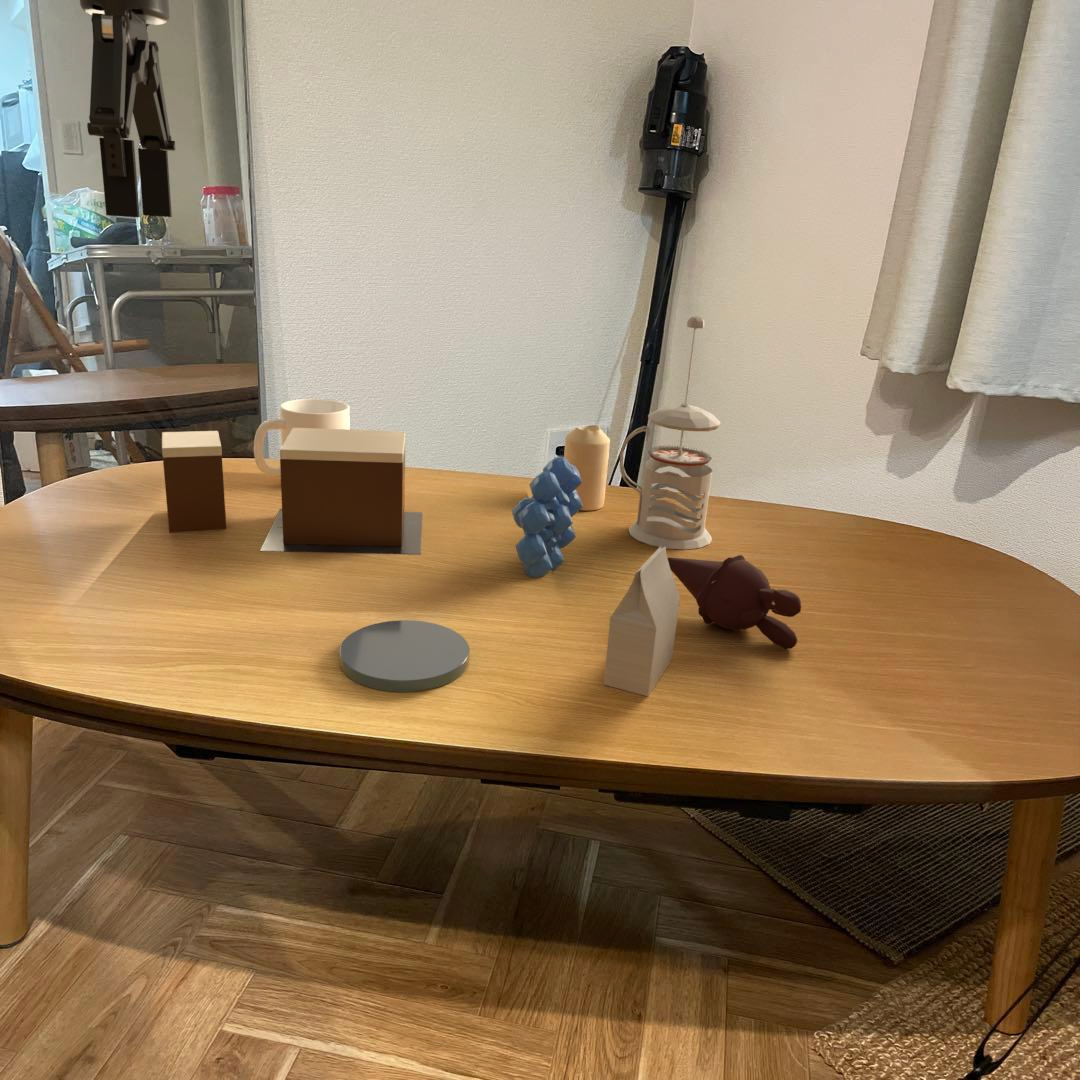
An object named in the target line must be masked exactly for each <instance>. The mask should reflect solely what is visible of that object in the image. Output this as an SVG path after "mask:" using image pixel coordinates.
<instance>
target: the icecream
mask: <svg viewBox="0 0 1080 1080" xmlns="http://www.w3.org/2000/svg"><path fill="white" fill-rule="evenodd" d="M667 558H668V562H669V566H670V569H671V572H672V574H674V575H675V576H676V578H677V579H678V580H679V581H680V582H681V584H682V585H683V586H684V587H685V588H686V589H687V591H688V592H689V593H690V594H691V596H692V597H693V598H694V599H695V602H696V604H697V606H698V615H699V616H700V617H701V618H702V621H703V622H704V624H706V625H711V624H715V625H717V626H719V627H722V628H723V629H729V630H737V631H738V630H740V631H742V630H747V629H750V628H753V627H756V628H758V630H759V631H760V632H761V633H762V635H764V636H765V637H766V638H767V639H768V640H769V641H771V642H772V643H773V644H774V645H776V646H778V647H781V648H783V649H785V650H790V649H791V650H792V649H793V648H794V647H796V645H797V644H798V637H797V634H796V633H795V631H793V629H792V628H791V627H790V626H789V625H788V624H787V623H785V622H783V621H781V620H779V619H778V618H775V617H773V616H770V615H767V614H768V613H769V612H770V611H771V612H772V613H773V614H775V615H778V616H781V617H787V618H793V617H795V616H797V615H798V614H799V613H801V610H802V602H801V597H799V595H798V594H796V593H795V592H792V591H790V590H787V589H774V588H771V584H770V582H769V579H768V578H767V576H766V575H765V574H764V573H765V572H763V571H762V570H761V569H760V568H759V567H757V566H755V565H753V564H752V563H751V562H750V561H748V560H746V559H745V557H744V556H743V554H742V555H741V554H739V555H736V556H733V557H727V558H725V559H723V561H719V560H718V561H717V560H706V559H696V558H695V559H694V558H682V557H672V556H671V557H668V556H667Z"/></svg>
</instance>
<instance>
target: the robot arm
mask: <svg viewBox="0 0 1080 1080" xmlns="http://www.w3.org/2000/svg"><path fill="white" fill-rule="evenodd" d="M79 5H80V7H81V9H82V10H83V11H84V12H85V13H86V14H88V15H90V16H91V26H92V57H91V59H92V60H91V80H90V101H89V116H88V119H89V122H87V124H86V129H87V133H88V135H89V136H91V137H99V147H100V148H99V149H100V160H101V161H100V162H101V173H102V184H103V193H104V203H105V204H104V206H105V216H110V217H125V218H141V215H140V213H141V212H140V201H139V188H138V176H137V164H136V163H137V162H136V154H135V153H136V152H135V151H136V150H135V149H136V148H135V140H133V139H130V137H131V136H130V135H131V129H132V128H131V127H132V121H133V119H134V123H135V127H136V130H137V134H138V138H139V144H140V146H141V147H138V148H137V151H138V166H139V167H138V168H139V179H140V181H139V182H140V193H141V194H140V195H141V206H142V216H149V217H162V218H163V217H164V218H172V217H173V213H172V200H171V184H170V172H169V171H170V167H169V157H168V156H169V155H168V151H173V152H174V151H176V141H175V140H173V137H172V135H171V130H170V124H169V118H168V112H167V106H166V99H165V98H166V97H165V93H164V86H163V79H162V74H161V67H160V58H159V57H160V56H159V52H160V51H159V50H160V48H159V45H158V42H157V41H152V40H149V33H148V27H149V26H150V25H154V26H159V25H165V24H167V23H168V22H169V20H170V3H169V0H79Z"/></svg>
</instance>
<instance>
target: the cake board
mask: <svg viewBox="0 0 1080 1080" xmlns="http://www.w3.org/2000/svg"><path fill="white" fill-rule="evenodd" d="M422 533H423V512H422V511H404V527H403V538H402V546H360V545H311V544H283V523H282V508H280V509H279V511H278V513H277V515H276V517H275V518H274V521H273V523H272V525H271V527H270V529H269V531H268V533H267V535H266V537H265V540H264V541H263V543H262V545H261V548H260V550H259V552H265V553H266V552H269V553H319V554H321V553H322V554H323V553H324V554H369V555H370V554H371V555H373V554H375V555H422V536H423V535H422Z"/></svg>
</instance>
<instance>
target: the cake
mask: <svg viewBox="0 0 1080 1080" xmlns="http://www.w3.org/2000/svg"><path fill="white" fill-rule="evenodd" d="M279 467H280V471H281V477H280V493H281V494H280V495H281V509H282V523H283V544H311V545H360V546H402V538H403V527H404V512H405V498H406V497H405V496H406V495H405V494H406V431H400V430H398V431H397V430H373V429H372V430H371V429H370V430H369V429H350V430H346V429H318V428H293V429H292V430H291V432H290V434H289V435H288V437H287V439H286V440H285V442H284V444H283V445H282V444H281V447H280V448H279Z"/></svg>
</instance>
